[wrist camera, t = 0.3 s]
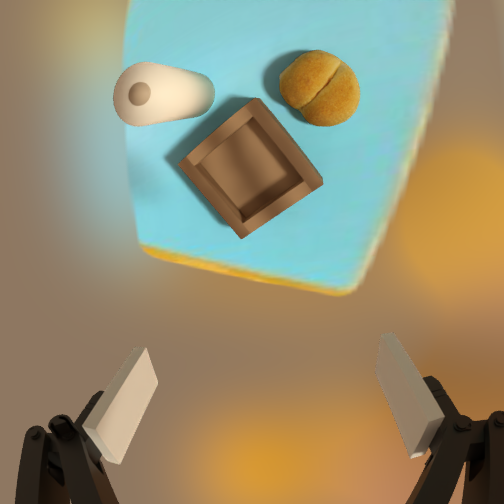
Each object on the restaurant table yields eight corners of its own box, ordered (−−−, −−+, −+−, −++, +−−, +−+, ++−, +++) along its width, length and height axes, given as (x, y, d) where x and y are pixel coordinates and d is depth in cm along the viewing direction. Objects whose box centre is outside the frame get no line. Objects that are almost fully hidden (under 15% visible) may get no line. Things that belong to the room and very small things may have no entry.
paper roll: (194, 63, 29) (142, 49, 18) (224, 95, 31) (182, 92, 20) (161, 95, 32) (102, 97, 21) (189, 127, 33) (137, 140, 23)
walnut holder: (259, 98, 30) (255, 97, 27) (322, 177, 33) (323, 184, 30) (188, 159, 35) (177, 164, 32) (246, 229, 38) (241, 239, 36)
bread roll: (326, 138, 31) (328, 142, 28) (269, 87, 29) (264, 84, 26) (373, 93, 27) (381, 91, 24) (316, 41, 26) (316, 32, 22)
